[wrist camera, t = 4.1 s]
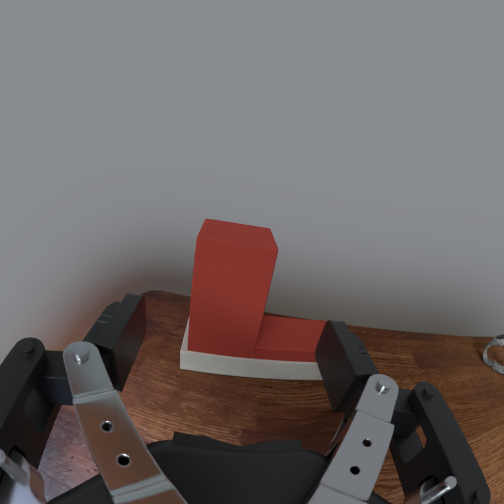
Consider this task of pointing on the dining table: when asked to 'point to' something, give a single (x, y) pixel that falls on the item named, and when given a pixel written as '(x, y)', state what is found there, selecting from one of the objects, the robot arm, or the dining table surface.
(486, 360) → the wristwatch
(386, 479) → the dining table surface
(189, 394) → the dining table surface
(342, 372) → the robot arm
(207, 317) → the block
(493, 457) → the dining table surface
